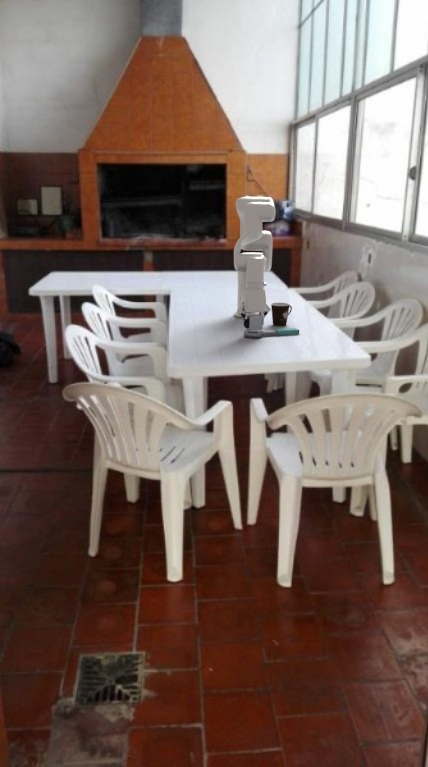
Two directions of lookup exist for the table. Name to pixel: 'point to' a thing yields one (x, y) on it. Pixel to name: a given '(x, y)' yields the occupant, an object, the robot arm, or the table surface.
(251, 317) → the brushed metal cube
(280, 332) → the ratchet
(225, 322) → the table surface
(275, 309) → the coffee mug
